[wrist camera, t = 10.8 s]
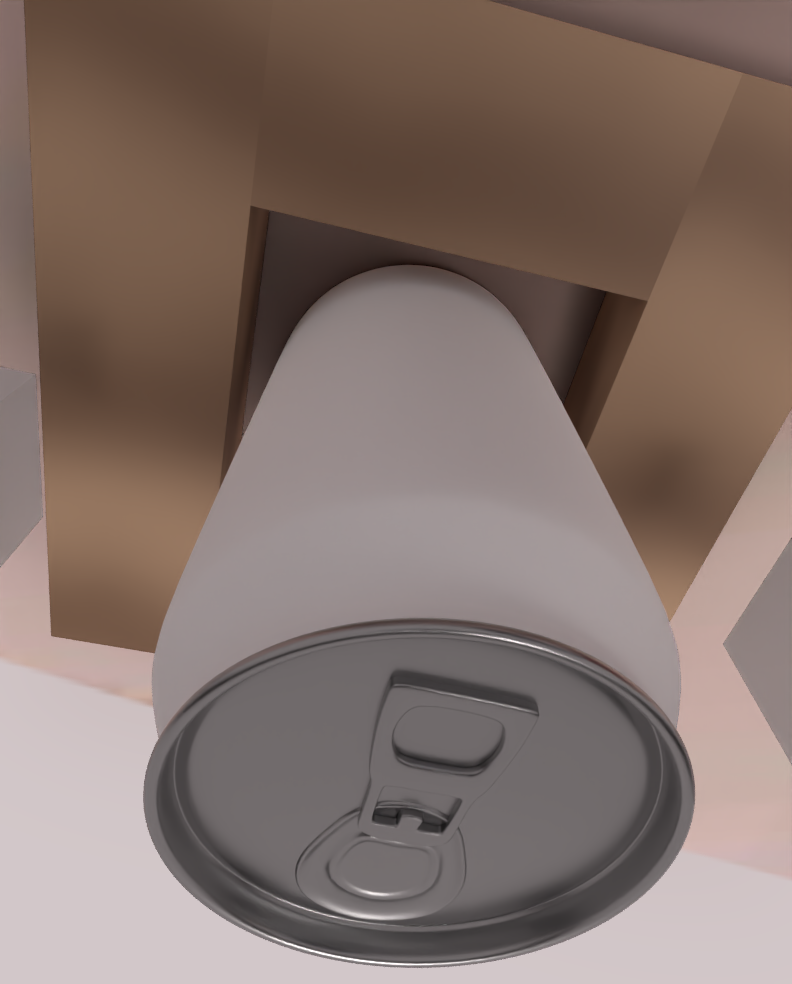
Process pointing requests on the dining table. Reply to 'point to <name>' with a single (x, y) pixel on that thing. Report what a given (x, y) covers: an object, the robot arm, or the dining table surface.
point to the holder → (394, 215)
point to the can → (415, 654)
